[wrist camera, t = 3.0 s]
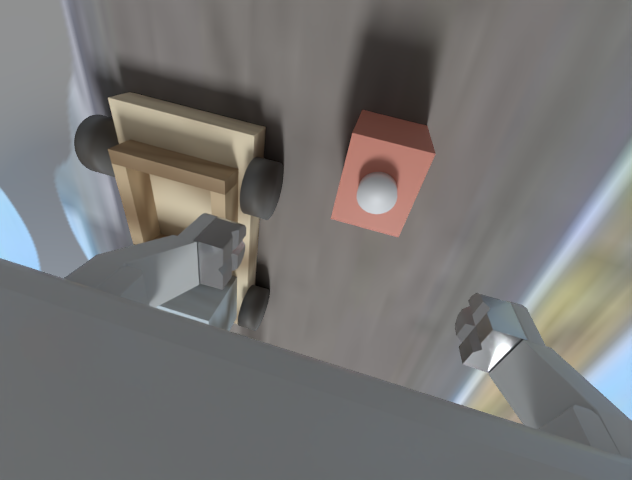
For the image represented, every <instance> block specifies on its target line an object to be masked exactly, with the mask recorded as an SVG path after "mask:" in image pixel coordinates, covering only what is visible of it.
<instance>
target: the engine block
mask: <svg viewBox="0 0 632 480" xmlns="http://www.w3.org/2000/svg"><path fill="white" fill-rule="evenodd" d="M434 156H435V151H434V147H433V144H432V140H431V137H430V134H429V130H428V127H427V126H426V125H422V124H418V123H414V122H410V121H406V120H402V119H398V118H394V117H390V116H386V115H382V114H378V113H374V112H370V111H366V110H362V111H361V114H360V116H359V118H358V121H357V123H356V125H355V128H354V130H353V132H352V136H351V140H350V144H349V148H348V152H347V156H346V160H345V164H344V168H343V172H342V176H341V180H340V184H339V188H338V192H337V196H336V200H335V204H334V208H333V212H332V216H331V219H334V220H337V221H341V222H344V223H348V224H352V225H355V226H359V227H362V228H366V229H370V230H373V231H377V232H381V233H384V234H388V235H391V236H395V237H399V235H400V233H401V230H402V228H403V226H404V224H405V221H406V219H407V217H408V215H409V212H410V210H411V208H412V206H413V203H414V201H415V199H416V197H417V194H418V192H419V190H420V188H421V185H422V183H423V181H424V179H425V176H426V174H427V172H428V170H429V167H430V165H431V163H432V161H433V158H434Z"/></svg>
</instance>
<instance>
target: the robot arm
mask: <svg viewBox="0 0 632 480" xmlns="http://www.w3.org/2000/svg"><path fill="white" fill-rule="evenodd" d="M245 236H246V226H245V225H243V224H240V223H237V222H234V221H231V220H227V219H224V218H221V217H217V216H214V215H211V214H208V213H203V214H201V215H200V216H199V217H198V218H197V219H196V220H195V221H194V222H192V223H191V224H190V225H189V226H188V227H187V228H186V229H185V230H183V231H182V232H181V233H180V234H179V235H178V236H176V235H171V236H167V237H163V238H159V239H155V240H151V241H148V242H144V243H140V244H136V245H132V246H129V247H125V248H121V249H117V250H113V251H110V252H106V253H102V254H98V255H96V256H94V257H93V258H92V259H90V260H89V261H87V262H86V263H85V264H83V265H82V266H80V267H79V268H78V269H76V270H75V271H73V272H72V273H71V274H69V275H68V276H66V277H65V278H61V277H57V276H54V275H51V274H48V273H45V272H42V271H39V270H35V269H32V268H29V267H26V266H23V265H20V264H17V263H13V262H10V261H7V260H4V259H1V258H0V480H632V421H631V420H630V419H629V418H628V417H627V416H626V415H625V414H624V413H622V412H621V411H620V410H619V409H618V408H617V407H616V406H615V405H614V404H613V403H611V402H610V401H609V400H608V399H607V398H606V397H605V396H604V395H603V394H601V393H600V392H599V391H598V390H597V389H596V388H595V387H594V386H593V385H591V384H590V383H589V382H588V381H587V380H586V379H585V378H584V377H583V376H582V375H580V374H579V373H578V372H577V371H576V370H575V369H574V368H573V367H572V366H570V365H569V364H568V363H567V362H566V361H565V360H564V359H563V358H562V357H561V356H559V355H558V354H557V353H556V352H555V351H554V350H553V349H552V348H550V347H547V346H545V344H544V342H543V340H542V338H541V336H540V334H539V332H538V330H537V328H536V326H535V324H534V322H533V320H532V318H531V316H530V314H529V312H528V310H527V308H526V307H524V306H523V305H520V304H516V303H512V302H509V301H503V300H500V299H496V298H493V297H489V296H486V295H482V294H479V293H475V294H474V295H472V296H471V298H470V299H469V300H468V301H469V305H470V306H469V307H466V308H464V309H462V310H461V311H460V313H459V314H458V316H457V319H456V323H455V330H456V336H457V337H458V338H459V339H460V340H461V342H462V343H461V345H460V346H459V350H460V354H461V359H462V363H463V364H464V365H467V366H470V367H473V368H476V369H479V370H482V371H485V372H488V373H489V376H490V377H491V379H492V380H493V381H494V383H495V384H496V386H497V387H498V389H499V390H500V391H501V393H502V394H503V396H504V397H505V399H506V400H507V402H508V403H509V404H510V406H511V407H512V409H513V410H514V412H515V413H516V414H517V416H518V417H519V419H520V420H521V422H522V423H523V424H524V425H522V424H519V423H516V422H513V421H510V420H507V419H504V418H500V417H497V416H494V415H491V414H488V413H485V412H481V411H478V410H475V409H472V408H469V407H466V406H463V405H460V404H456V403H453V402H450V401H447V400H444V399H441V398H438V397H434V396H431V395H428V394H425V393H422V392H419V391H416V390H413V389H409V388H406V387H403V386H400V385H397V384H394V383H391V382H387V381H384V380H381V379H378V378H375V377H372V376H369V375H365V374H362V373H359V372H356V371H353V370H350V369H347V368H343V367H340V366H337V365H334V364H331V363H328V362H325V361H321V360H318V359H315V358H312V357H309V356H306V355H303V354H299V353H296V352H293V351H290V350H287V349H284V348H281V347H277V346H274V345H271V344H268V343H265V342H262V341H259V340H255V339H252V338H249V337H246V336H243V335H240V334H237V333H233V332H230V331H227V330H224V329H221V328H218V327H215V326H211V325H208V324H205V323H202V322H199V321H196V320H193V319H189V318H186V317H183V316H180V315H177V314H174V313H171V312H167V311H164V310H161V309H158V308H156V307H157V306H159V305H161V304H163V303H165V302H167V301H169V300H171V299H173V298H175V297H177V296H179V295H180V294H182V293H184V292H186V291H188V290H190V289H192V288H194V287H196V286H198V285H199V283H200V284H203V285H207V286H210V287H214V288H217V289H221V290H223V289H224V287H225V286H226V285H227V283H228V282H229V280H230V279H231V277H232V271H234V270H236V269H238V267H239V266H240V264H241V262H242V259H243V257H244V253H245V243H244V242H243V239H244V237H245Z"/></svg>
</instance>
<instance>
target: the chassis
mask: <svg viewBox="0 0 632 480" xmlns="http://www.w3.org/2000/svg"><path fill="white" fill-rule="evenodd" d="M108 101H109V105H110V109H111V113H112V117H113V118H111V117H107V116H103V115H92V116H89V117H88V118H86V119H85V120H83V121H82V123H81V124H80V125H79V127H78V129H77V131H76V134H75V140H74V145H75V151H76V154H77V157H78V159H79V160H80V162H81V163H82V164H83V165H84V166H85V167H86V168H88V169H90V170H92V171H95V172H99V173H102V174H106V175H110V176H113V177H115V178H116V181H117V185H118V189H119V192H120V196H121V200H122V203H123V207H124V211H125V215H126V218H127V222H128V226H129V229H130V233H131V237H132V240H133V244H134V245H136V244H140V243H144V242H148V241H151V240H155V239H159V238H163V237H167V236H171V235H176V236H178V235H179V234H180V233H181V232H182V231H183V230H185V229H186V228H187V227H188V226H189V225H190V224H191V223H192V222H194V221H195V220H196V219H197V218H198V217H199V216H200V215H201V214H203V213H208V214H211V215H214V216H217V217H221V218H224V219H227V220H231V221H234V222H237V223H240V224H243V225H245V226H246V236H245V237H244V239H243V242H244V243H245V253H244V257H243V259H242V262H241V264H240V266H239V267H238V269H236V270H234V271H232V277H231V279H230V280H229V282H228V283H227V285H226V286H225V287H224V289H223V290H221V289H217V288H214V287H210V286H207V285H203V284H200V283H199V285H198V286H196V287H194V288H192V289H190V290H188V291H186V292H184V293H182V294H180V295H179V296H177V297H175V298H173V299H171V300H169V301H167V302H165V303H163V304H161V305H159V306H157V307H156V308H158V309H161V310H164V311H167V312H171V313H174V314H177V315H180V316H183V317H186V318H189V319H193V320H196V321H199V322H202V323H205V324H208V325H211V326H215V327H218V328H221V329H224V330H227V331H230V329H231V327H232V325H233V323H236V324H238V325H239V326H242V327H245V328H248V329H251V330H254V331H256V330H257V329H258V327H259V325H260V323H261V321H262V319H263V317H264V314H265V311H266V308H267V304H268V300H269V295H270V291H269V290H268V289H265V288H262V287H258V286H255V277H256V263H257V248H258V233H259V219H260V218H262V219H265V220H268V219H269V218H270V217H271V216H272V214H273V212H274V210H275V208H276V206H277V203H278V200H279V197H280V193H281V188H282V183H283V165H282V164H281V163H279V162H276V161H272V160H268V159H264V145H265V131H266V127H264V126H260V125H256V124H252V123H248V122H244V121H240V120H236V119H233V118H229V117H225V116H221V115H217V114H213V113H209V112H206V111H202V110H198V109H194V108H190V107H186V106H182V105H178V104H175V103H171V102H167V101H163V100H159V99H155V98H151V97H148V96H144V95H140V94H136V93H132V92H128V93H124V94H120V95H116V96H112V97H108Z"/></svg>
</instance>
